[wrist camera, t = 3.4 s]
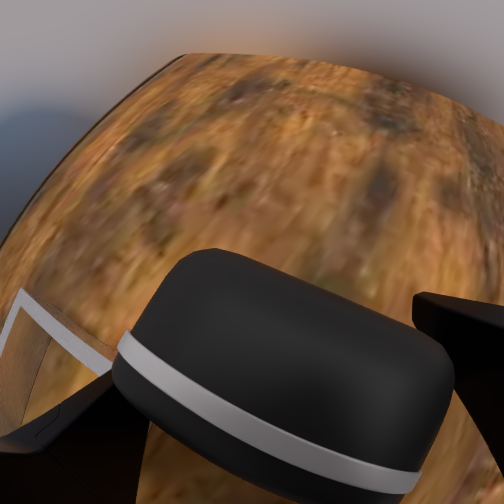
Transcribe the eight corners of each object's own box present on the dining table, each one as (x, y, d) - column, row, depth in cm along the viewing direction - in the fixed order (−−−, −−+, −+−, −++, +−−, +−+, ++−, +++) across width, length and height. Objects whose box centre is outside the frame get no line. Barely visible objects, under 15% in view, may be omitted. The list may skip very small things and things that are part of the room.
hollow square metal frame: (170, 383, 14) (135, 377, 11) (107, 529, 9) (72, 544, 6) (55, 307, 18) (20, 287, 14) (11, 433, 12) (-24, 429, 9)
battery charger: (364, 381, 13) (508, 332, 3) (332, 443, 12) (422, 537, 2) (250, 329, 15) (173, 194, 6) (217, 387, 14) (66, 354, 4)
